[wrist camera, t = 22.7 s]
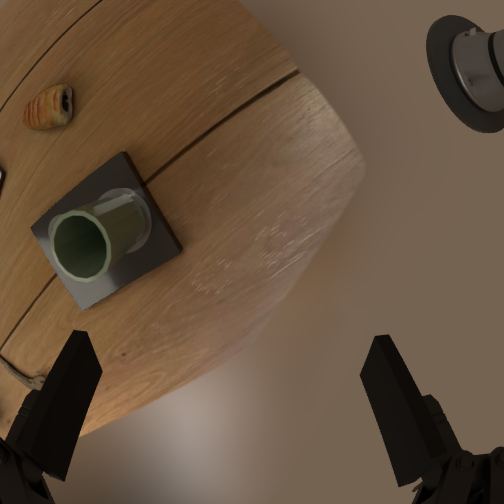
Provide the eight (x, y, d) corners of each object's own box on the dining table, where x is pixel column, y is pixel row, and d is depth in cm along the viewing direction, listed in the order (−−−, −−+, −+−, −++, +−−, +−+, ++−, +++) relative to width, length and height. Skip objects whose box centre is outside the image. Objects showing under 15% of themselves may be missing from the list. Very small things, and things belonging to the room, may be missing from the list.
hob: (126, 151, 37) (120, 151, 35) (183, 248, 41) (180, 253, 39) (36, 224, 39) (29, 227, 37) (87, 306, 43) (81, 312, 41)
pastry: (29, 137, 34) (15, 137, 31) (29, 99, 32) (15, 96, 29) (74, 122, 35) (61, 120, 31) (74, 81, 33) (62, 76, 29)
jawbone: (56, 398, 51) (53, 404, 49) (-4, 368, 49) (-8, 373, 47) (47, 372, 47) (43, 378, 46) (-15, 341, 45) (-19, 346, 44)
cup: (146, 195, 37) (110, 212, 25) (145, 250, 39) (112, 286, 27) (97, 193, 36) (48, 208, 25) (97, 245, 38) (54, 277, 27)
